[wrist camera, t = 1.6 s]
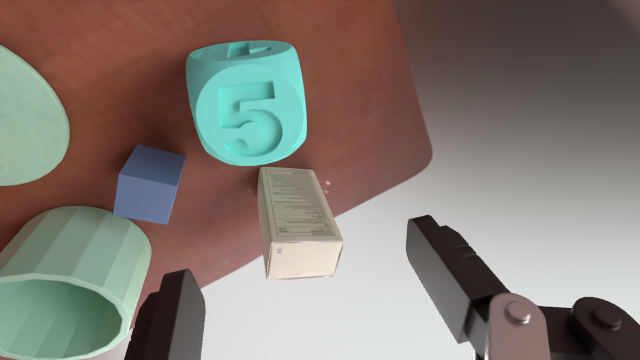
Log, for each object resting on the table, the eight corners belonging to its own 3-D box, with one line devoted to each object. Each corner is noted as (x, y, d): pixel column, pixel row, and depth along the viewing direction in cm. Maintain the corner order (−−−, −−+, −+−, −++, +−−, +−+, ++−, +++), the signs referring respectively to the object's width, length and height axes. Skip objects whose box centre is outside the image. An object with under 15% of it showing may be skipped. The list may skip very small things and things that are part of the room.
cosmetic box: (256, 197, 36) (262, 282, 26) (259, 164, 34) (268, 242, 24) (309, 199, 38) (334, 279, 28) (316, 167, 35) (346, 241, 25)
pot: (20, 281, 35) (-38, 361, 28) (19, 193, 30) (-54, 264, 22) (142, 292, 40) (120, 363, 32) (160, 218, 35) (138, 283, 27)
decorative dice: (287, 37, 27) (302, 55, 21) (295, 122, 32) (309, 159, 25) (193, 44, 26) (177, 66, 20) (215, 132, 31) (208, 173, 24)
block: (131, 181, 32) (112, 215, 27) (137, 143, 30) (118, 173, 25) (177, 190, 33) (167, 225, 29) (186, 155, 31) (176, 186, 27)
